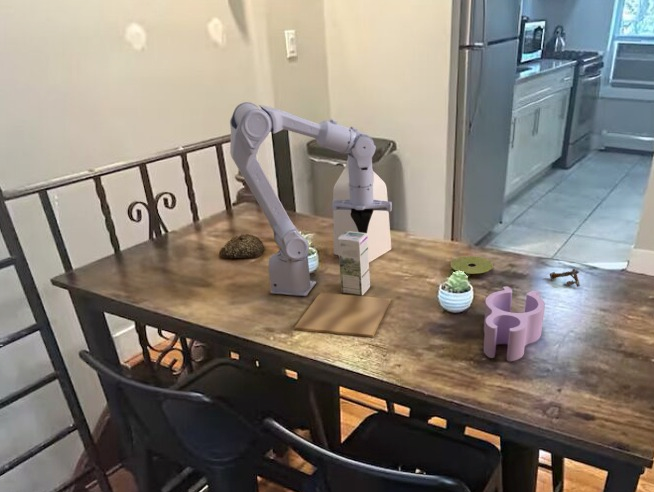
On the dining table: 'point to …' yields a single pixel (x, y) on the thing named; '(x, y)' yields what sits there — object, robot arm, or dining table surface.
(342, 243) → the syrup box
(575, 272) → the wooden post with brackets
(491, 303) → the clip
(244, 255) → the bread roll
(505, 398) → the dining table surface
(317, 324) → the wooden board
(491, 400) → the dining table surface
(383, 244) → the milk
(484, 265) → the mat
